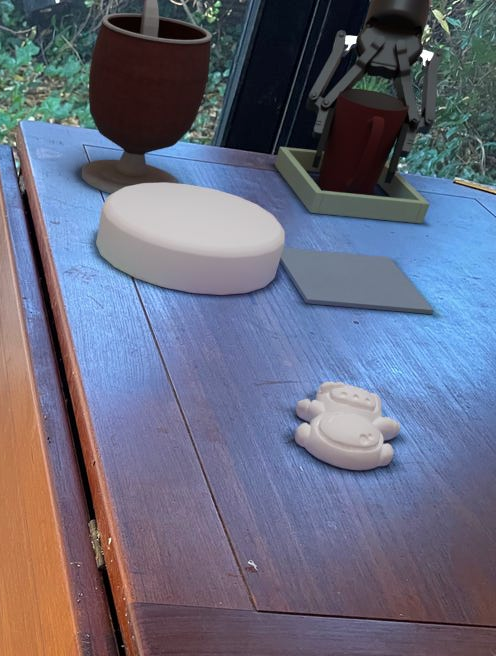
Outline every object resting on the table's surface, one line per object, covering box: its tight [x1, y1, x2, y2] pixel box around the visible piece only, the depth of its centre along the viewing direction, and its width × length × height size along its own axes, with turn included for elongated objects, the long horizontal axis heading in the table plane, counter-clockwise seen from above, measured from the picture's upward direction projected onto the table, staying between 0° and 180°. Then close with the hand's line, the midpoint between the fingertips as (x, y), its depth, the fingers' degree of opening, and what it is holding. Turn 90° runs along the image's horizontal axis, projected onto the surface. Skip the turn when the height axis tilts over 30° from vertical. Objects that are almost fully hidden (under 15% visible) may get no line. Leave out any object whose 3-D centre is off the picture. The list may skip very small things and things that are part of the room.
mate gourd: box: [81, 0, 213, 195], centre depth 120 cm, size 16×14×20 cm
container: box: [95, 183, 286, 296], centre depth 108 cm, size 20×20×5 cm
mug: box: [316, 88, 409, 196], centre depth 129 cm, size 12×9×11 cm
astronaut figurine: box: [294, 381, 402, 471], centre depth 83 cm, size 9×12×3 cm
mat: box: [279, 247, 435, 315], centre depth 109 cm, size 14×14×1 cm
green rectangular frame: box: [274, 146, 431, 224], centre depth 132 cm, size 15×18×2 cm
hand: (353, 169), depth 128 cm, fingers closed on mug, 9 cm apart
